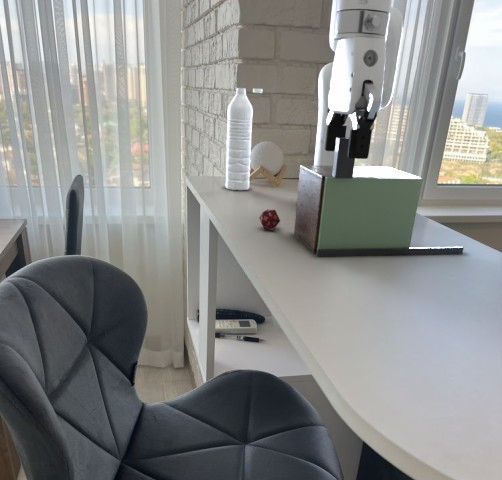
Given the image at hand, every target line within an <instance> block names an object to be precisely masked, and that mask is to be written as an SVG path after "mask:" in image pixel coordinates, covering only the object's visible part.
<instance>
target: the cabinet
mask: <svg viewBox="0 0 502 480" xmlns="http://www.w3.org/2000/svg"><path fill="white" fill-rule="evenodd" d="M332 171H333V166H316V165H314V164H312V165H310V164H306V165H305V164H301V165H299V175H298V186H297V195H296V196H297V197H296V207H295V208H296V209H295V217H294V229H293V230H294V231H293V236H295V238H297V239H298V240H299V241H300V242H301V243H302V244H303V245H305V246H306V248H308V249H309V250H310V251H311V252H312V253H313V254H316V257H365V256H367V257H368V256H369V257H370V256H373V257H374V256H423V255H425V256H427V255H463V252H464V248H465V247H463V246H436V247H435V246H432V247H430V246H429V247H428V246H426V247H409V248H355V249H317V246H318V237H319V228H320V219H321V210H322V201H323V192H324V183H325V177H332ZM353 177H381V178H421V177H420V176H417V175H415V174H411V173H408V172H405V171H402V170H398V169H397V168H393V167H391V166H360V165H359V166H355V165H354V170H353Z"/></svg>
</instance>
